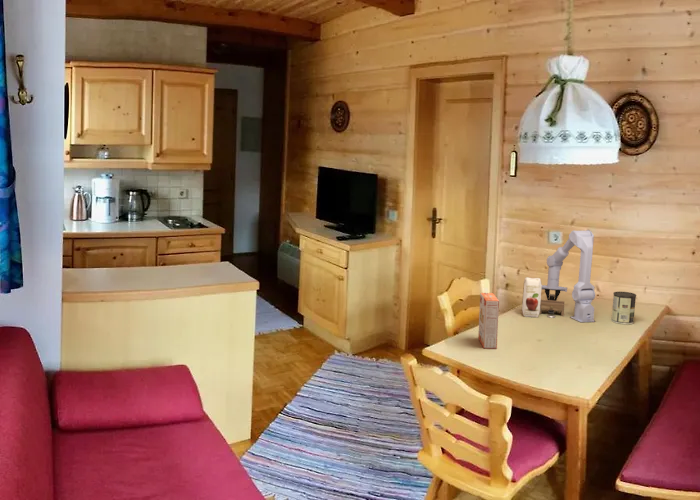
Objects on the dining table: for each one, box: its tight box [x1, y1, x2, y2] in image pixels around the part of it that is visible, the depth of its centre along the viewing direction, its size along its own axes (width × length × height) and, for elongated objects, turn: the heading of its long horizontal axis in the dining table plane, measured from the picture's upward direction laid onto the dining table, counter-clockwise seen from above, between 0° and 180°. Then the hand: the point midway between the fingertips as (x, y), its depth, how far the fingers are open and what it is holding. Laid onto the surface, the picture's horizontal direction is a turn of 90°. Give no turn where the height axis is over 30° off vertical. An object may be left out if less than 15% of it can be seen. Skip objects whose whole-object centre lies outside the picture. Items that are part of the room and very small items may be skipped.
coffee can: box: [610, 291, 637, 325], centre depth 324 cm, size 10×10×14 cm
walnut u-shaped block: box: [539, 299, 566, 317], centre depth 336 cm, size 8×12×6 cm
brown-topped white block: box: [547, 293, 555, 315], centre depth 344 cm, size 15×3×7 cm, turn 163°
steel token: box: [546, 314, 556, 319], centre depth 330 cm, size 4×4×1 cm
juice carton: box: [521, 276, 543, 318], centre depth 330 cm, size 8×9×19 cm
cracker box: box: [477, 292, 500, 350], centre depth 281 cm, size 14×6×21 cm, turn 178°
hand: (551, 303), depth 350 cm, fingers closed on brown-topped white block, 2 cm apart
